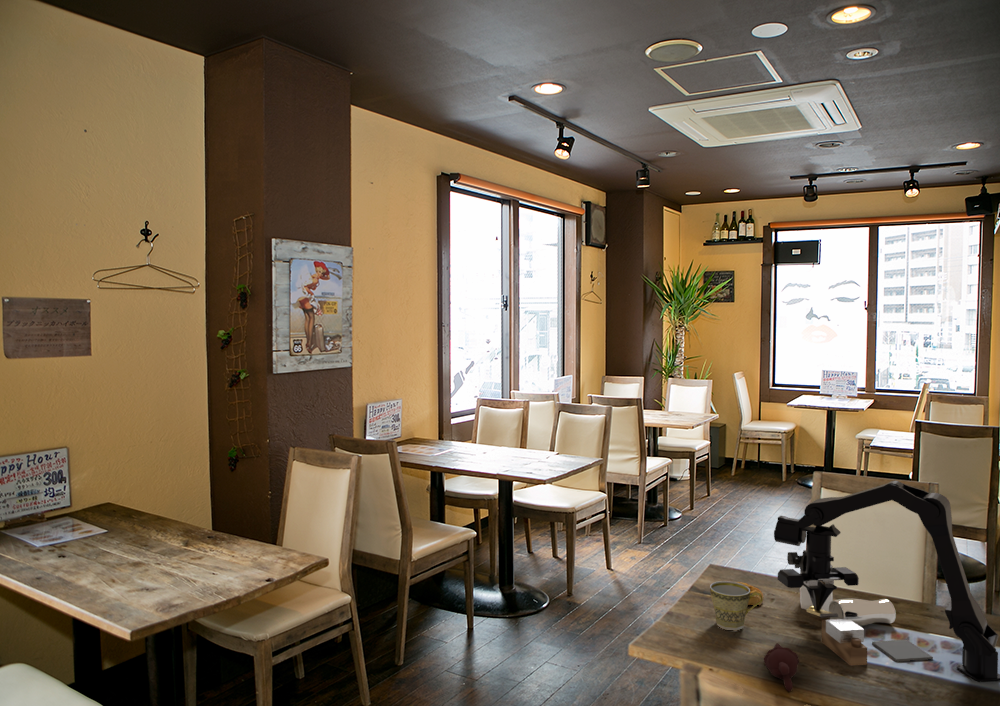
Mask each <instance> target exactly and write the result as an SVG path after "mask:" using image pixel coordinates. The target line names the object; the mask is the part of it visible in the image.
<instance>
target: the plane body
mask: <svg viewBox="0 0 1000 706" xmlns="http://www.w3.org/2000/svg"><path fill="white" fill-rule="evenodd" d="M826 620H832V619H830V618H828V619H827V618H823V619H821V643H822V644H823V645H825V646H826V647H827V648H828V649H829V650H831V651H832V652H833V653H835V654H836V656H838V657H839V658H841V660H843V661H845V662H846V663H847V664H848V665H849V666H852V667H853V666H867V665H868V647H867V646H866V645H865V644H863V642H861V639H859V638H851V643H839V642H838V641H837V640H835V639H834V638H833V637H831V636H830V635H829V634H828V633H826Z"/></svg>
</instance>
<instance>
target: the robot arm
mask: <svg viewBox="0 0 1000 706" xmlns="http://www.w3.org/2000/svg"><path fill="white" fill-rule="evenodd" d="M890 501H893V502H895V503H897V504H899V505H900V506H902V507H904V508H905V509H906V510H908V511H910V512H913V513H915V514H916V515H918V517H919V520H920V521H921V523H922V524H923V527H924V528H925V529H926V531H927V532H928V534H929V535H930V537H931V539H932V542H933V545H934V548H935V551H936V554H937V558H938V561H939V564H940V568H941V571H942V574H943V578H944V581H945V584H946V586H947V587H946V588H947V590H948V593H949V596H950V601H949V602H948V603H947V605H946V607H945V609H944V613H945V615H946V617H947V620H948V621H949V627H948V629H949V630H952V631H953V633H954V634H955V636H956V637H957V638H959V639H960V640H961V642H962V644H963V646H962V651H961V652H962V654H961V660H962V661H961V662H962V663H961V664H957V665H956V669H958V670H959V671H961V672H962V673H964V674H966V675H967V676H968V677H970V678H972V679H973V680H975V681H976V682H988V681H989V682H991V681H993V682H994V681H1000V673H999V671H998V670H999V669H998V668H999V651H997V648H996V645H997V642H998V639H999V634H998V633H997V632H996V630H994V629H993V628H992V626H990V625H989V624H988V621H987V618H986V615H985V614H984V612H983V610H982V608H981V606H980V604H979V603H978V602H977V600H976V599H975V597H974V596H973V594H972V592H971V589H970V586H969V582H968V580H967V576H966V573H965V569H964V567H963V564H962V560H961V557H960V554H959V550H958V547H957V543H956V541H955V538H954V535H953V517H952V507H951V503H950V500H949V499H948V497H947V496H945V495H943V494H941V493H939V492H929V491H926V490H924V489H921V488H918V487H914V486H911V485H908V484H905V483H903V482H902V481H899V480H891V481H889V482H887V483H884V484H881V485H877V486H873V487H871V488H868V489H867V488H866V489H864V490H861V491H858V492H853V493H852V494H851V493H850V494H848V495H844V496H838V497H837V496H836V497H834V496H831V497H821V498H817V499H815V500H813V501H811V503H809V504H807V505H806V506H805V508H804V515H803V516H802V517H800V518H799V519H798V518H793V517H787V516H785V515H779V516H778V517H777V522H776V525H775V527H774V530H773V537H774V541H775V542H777V543H781V544H785V545H790V546H791V545H792V546H796V547H800V546H801V544H804V543H805V542H806V544H805V548H806V549H804V550H803V551H802V555H799V554H798V552H797V551H790V552H787V556H786V557H787V559H786V560H787V565H790V566H791V565H793V566H794V569H793V568H789V569H788V568H787V569H785V568H784V569H783V568H782V569H779V571H778V572H777V581H779V582H780V583H781V584H783V585H784V586H785V587H787V588H789V589H795V588H796V589H797V588H799V589H800V588H801V587H802V586H805V587H806V588H807V590H808V593H809V595H810V598H811V601H812V604H813V607H814V609H815V610H816V611H818V610H820V609H821V608H822V606H823V604H824V603H825V601H826V599H827V598H828V597H829V595H830V594H831V593H832V591H833V592H834V590H837V589H838V586H837V585H835V581H843V583H845V585H846V586H850V587H851V586H853V587H854V586H859V582H860V581H859V579H860V578H859V576H858V574H857V573H856V572H855V571H853V570H851V569H850V568H848V567H846V566H843V567H840V566H839V567H838V566H837V567H836V566H835V567H833V569H832V570H831V572H830V568H831V565H832V564H831V563H832V562H834V561H835V559H834V558H835V557H834V556H832V537H833V538H837V537H838V536H839V535H841V531H840V530H839V529H838V528H837V526H835V524H834V523H833V524H831V525H830V526H826V525H825V524H827V523H830V522H832V521H834V520H835V519H837V518H839V517H841V516H843V515H845V514H848V513H852V512H855V511H858V510H862V509H865V508H870V507H873V506H877V505H879V504H883V503H887V502H890ZM814 526H815V527H814ZM800 567H801V568H800ZM795 569H799V571H800V570H802V571H805V572H806V573H802V574H800V572H798V571H796V570H795Z"/></svg>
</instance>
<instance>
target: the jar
mask: <svg viewBox="0 0 1000 706" xmlns="http://www.w3.org/2000/svg"><path fill="white" fill-rule="evenodd" d="M800 568H801V567H799V571H800V572H799V574H802V573H806V572H805V571H802V570H800ZM833 568H834V567H833V565H832V564H831V568H830V572H831V570H832V569H833ZM833 593H834V590H833V591H832V593H831V594H830V595H829V597H828V598H827V599H826V601H825V603H824V604H823V606H822V608H821V609H822V610H825V611H828V606H829V603H830V602H831V601H832V600H834V598H833ZM799 604H800V609H802V610H805V611H807V609H808V608H809V607H810V606H813V604H812V601H811V598H810V595H809V593H808V590H807V588H806V587H805V586H802V587H801V588H799Z"/></svg>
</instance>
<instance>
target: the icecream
mask: <svg viewBox="0 0 1000 706" xmlns="http://www.w3.org/2000/svg"><path fill="white" fill-rule="evenodd" d="M763 663H764V666H765V667H766V668H767V669H768V671H769V672H770V674H771V675H772V676H774V677H776V678H778V679H780V680H781V681H783V684H784V688H785V690H786V691H787V692H791V691H793V688H794V684H793V682H792V678H793V677H794V676H795V675H797V673H798V665H799V664H800V660H799V655H798V653H797V652H795V651H793V650H792V649H791V648H789V647H784V646H782V645H781V644H780V643H775V644H774V647H773V648H771V649H769V650H768V651H767V652H766V654H765V655H764V657H763Z"/></svg>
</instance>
